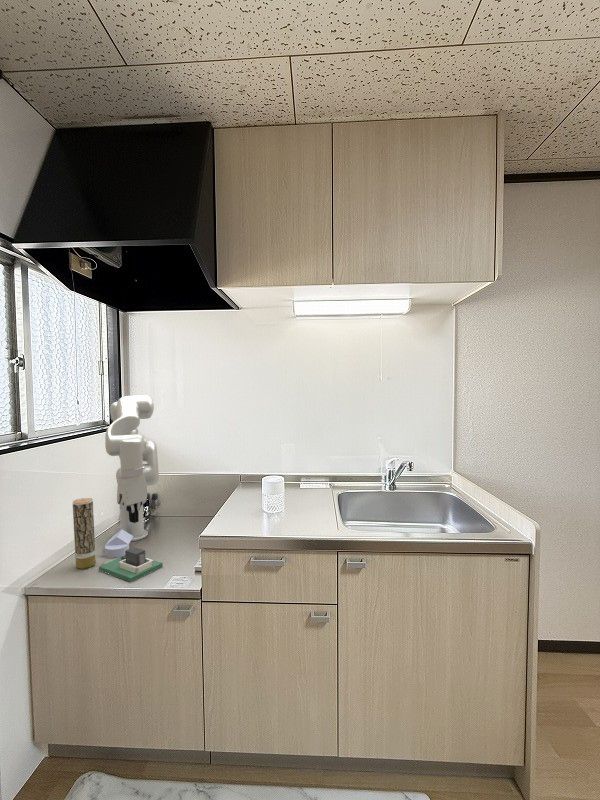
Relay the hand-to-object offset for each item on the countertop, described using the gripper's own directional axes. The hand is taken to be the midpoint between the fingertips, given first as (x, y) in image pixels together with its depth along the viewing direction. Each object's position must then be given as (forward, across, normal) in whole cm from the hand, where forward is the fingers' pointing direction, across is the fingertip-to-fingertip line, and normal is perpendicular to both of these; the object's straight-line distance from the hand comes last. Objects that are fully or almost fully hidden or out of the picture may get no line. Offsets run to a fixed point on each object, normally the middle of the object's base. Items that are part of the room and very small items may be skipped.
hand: (134, 521), depth 166 cm
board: (+18, 0, -2) cm, 18 cm away
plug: (+17, 0, 0) cm, 17 cm away
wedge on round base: (+19, -8, -20) cm, 29 cm away
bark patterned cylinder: (+19, +7, -19) cm, 28 cm away
